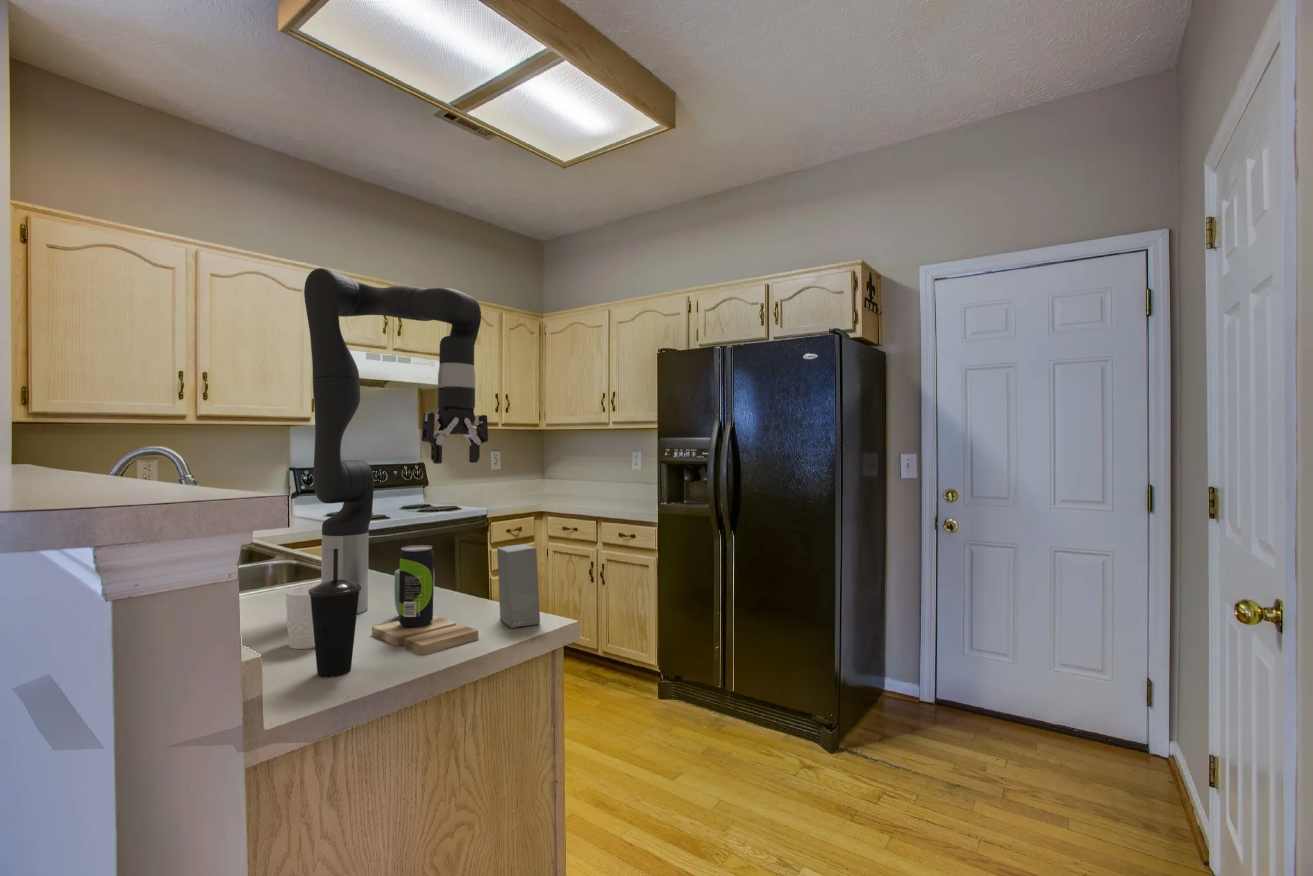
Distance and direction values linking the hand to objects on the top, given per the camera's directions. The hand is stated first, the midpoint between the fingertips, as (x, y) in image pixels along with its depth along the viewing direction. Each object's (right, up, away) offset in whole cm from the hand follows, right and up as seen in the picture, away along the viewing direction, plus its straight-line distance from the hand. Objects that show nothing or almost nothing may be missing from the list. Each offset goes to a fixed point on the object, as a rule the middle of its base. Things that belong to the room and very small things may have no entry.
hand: (455, 463), depth 130 cm
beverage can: (-5, -32, -9) cm, 33 cm away
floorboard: (+2, -33, -15) cm, 36 cm away
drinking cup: (-10, -33, -30) cm, 45 cm away
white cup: (-22, -33, -16) cm, 43 cm away
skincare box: (+13, -33, -1) cm, 36 cm away
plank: (-5, -33, -9) cm, 35 cm away
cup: (-10, -33, +2) cm, 35 cm away
